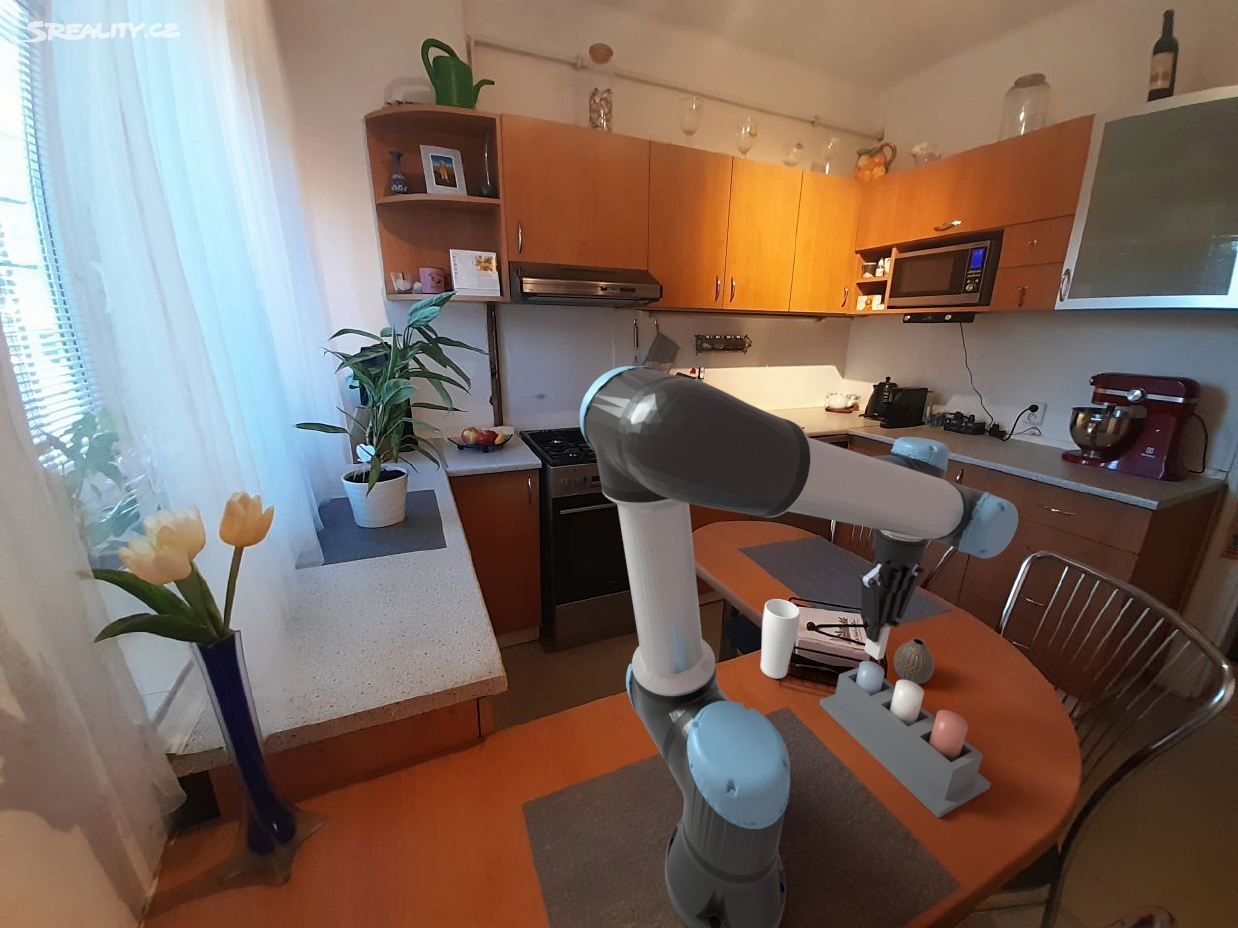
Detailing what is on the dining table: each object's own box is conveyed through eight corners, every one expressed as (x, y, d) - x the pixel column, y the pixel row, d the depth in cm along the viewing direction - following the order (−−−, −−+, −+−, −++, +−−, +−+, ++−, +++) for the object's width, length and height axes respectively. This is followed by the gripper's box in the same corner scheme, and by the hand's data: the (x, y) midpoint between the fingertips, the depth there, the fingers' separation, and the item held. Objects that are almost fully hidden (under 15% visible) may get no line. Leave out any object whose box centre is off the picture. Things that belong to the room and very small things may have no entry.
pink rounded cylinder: (946, 770, 73) (957, 734, 70) (921, 749, 76) (930, 714, 74) (963, 761, 74) (974, 726, 72) (938, 741, 78) (947, 706, 75)
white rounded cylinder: (904, 734, 79) (912, 700, 77) (882, 716, 82) (890, 683, 80) (920, 727, 80) (929, 693, 78) (898, 709, 84) (907, 676, 82)
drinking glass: (795, 683, 95) (805, 619, 91) (761, 682, 96) (769, 618, 91) (784, 659, 102) (793, 598, 97) (752, 658, 102) (760, 597, 98)
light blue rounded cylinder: (866, 711, 85) (873, 679, 83) (848, 695, 89) (854, 664, 87) (882, 704, 87) (889, 672, 85) (863, 689, 90) (870, 658, 88)
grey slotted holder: (938, 818, 70) (949, 782, 68) (819, 704, 90) (824, 674, 88) (989, 788, 75) (1000, 754, 73) (865, 686, 95) (871, 657, 93)
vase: (927, 695, 93) (937, 658, 91) (888, 679, 97) (896, 643, 95) (931, 675, 98) (941, 639, 96) (893, 660, 102) (902, 626, 100)
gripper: (894, 548, 72) (865, 677, 79) (950, 536, 77) (918, 658, 84) (853, 528, 78) (829, 649, 85) (907, 518, 83) (881, 633, 90)
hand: (873, 653), depth 85 cm, fingers closed
